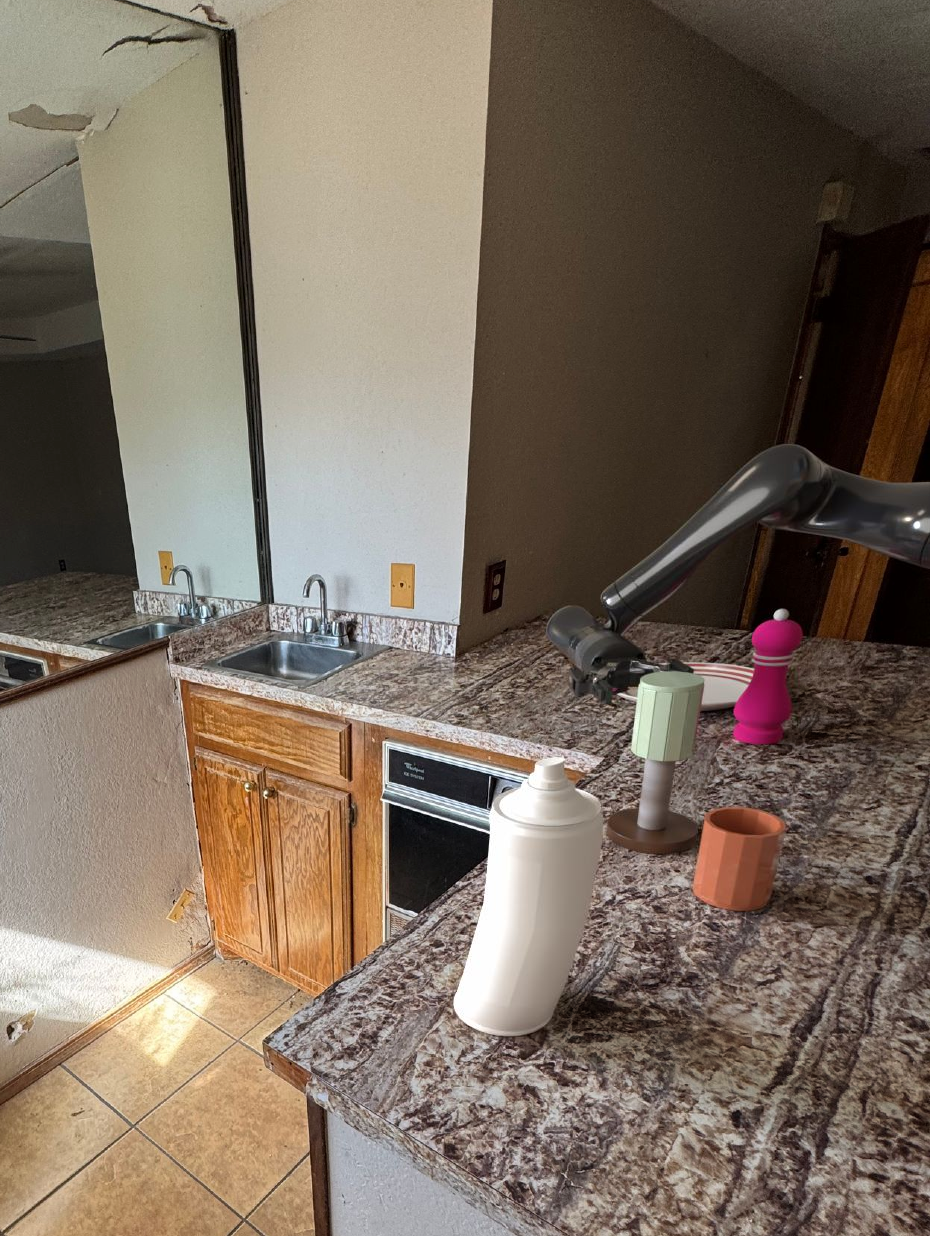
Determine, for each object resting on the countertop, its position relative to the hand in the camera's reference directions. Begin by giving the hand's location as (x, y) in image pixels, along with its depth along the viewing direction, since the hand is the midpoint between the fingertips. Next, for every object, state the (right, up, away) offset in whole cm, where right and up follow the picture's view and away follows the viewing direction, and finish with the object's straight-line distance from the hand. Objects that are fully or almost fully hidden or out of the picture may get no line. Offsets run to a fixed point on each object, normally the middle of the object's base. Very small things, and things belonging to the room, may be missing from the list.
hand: (646, 693), depth 94 cm
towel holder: (+1, -18, +1) cm, 18 cm away
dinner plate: (+32, +7, +42) cm, 53 cm away
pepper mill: (+31, -3, +22) cm, 38 cm away
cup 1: (-1, -8, -4) cm, 9 cm away
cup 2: (+2, -24, -12) cm, 27 cm away
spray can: (-26, -34, -23) cm, 48 cm away
